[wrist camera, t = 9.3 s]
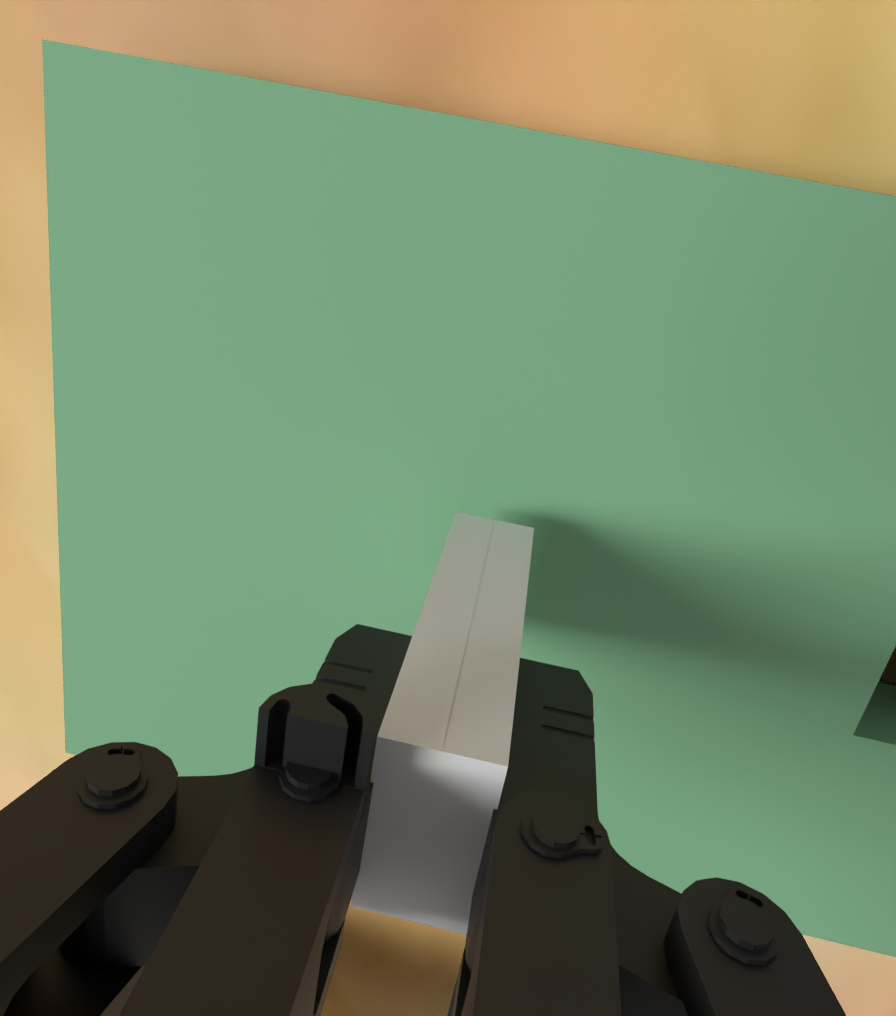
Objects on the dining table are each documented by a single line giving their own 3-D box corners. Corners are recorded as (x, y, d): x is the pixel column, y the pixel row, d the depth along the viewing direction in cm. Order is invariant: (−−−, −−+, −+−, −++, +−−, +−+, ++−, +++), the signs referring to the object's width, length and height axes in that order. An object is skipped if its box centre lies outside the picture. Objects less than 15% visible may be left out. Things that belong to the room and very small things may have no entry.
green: (118, 59, 16) (-50, 14, 12) (1473, 310, 14) (1861, 365, 10) (117, 694, 22) (9, 815, 18) (1053, 919, 21) (1180, 1112, 16)
